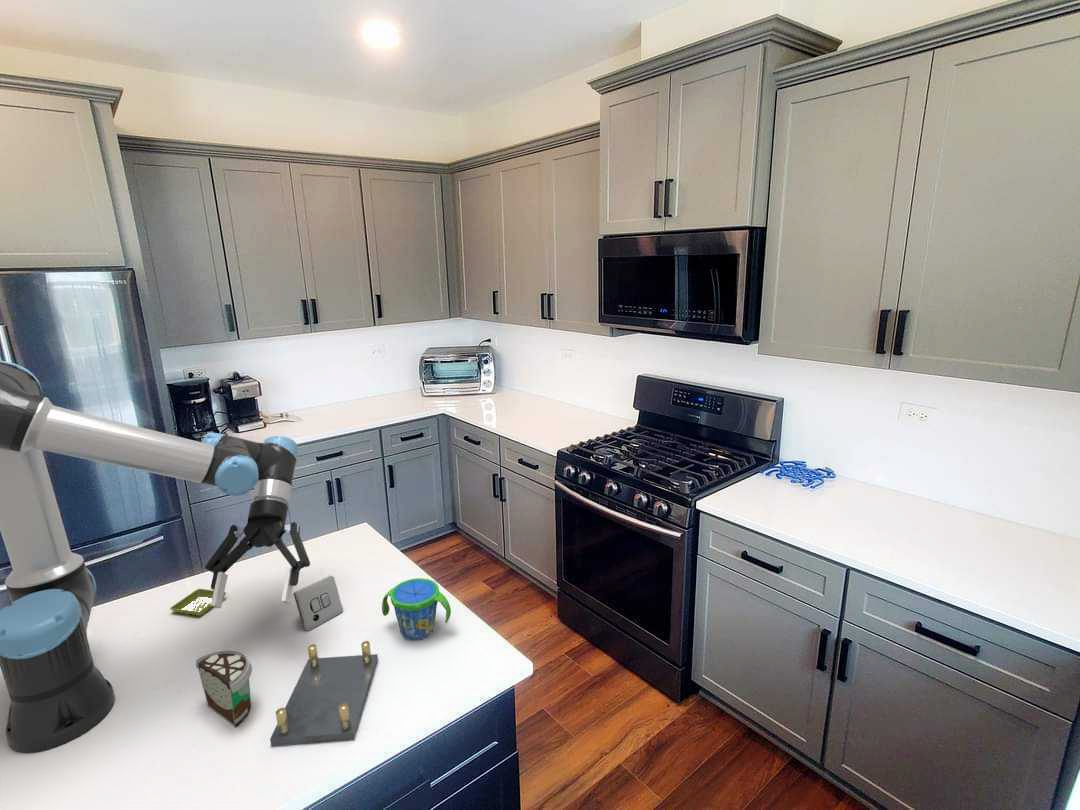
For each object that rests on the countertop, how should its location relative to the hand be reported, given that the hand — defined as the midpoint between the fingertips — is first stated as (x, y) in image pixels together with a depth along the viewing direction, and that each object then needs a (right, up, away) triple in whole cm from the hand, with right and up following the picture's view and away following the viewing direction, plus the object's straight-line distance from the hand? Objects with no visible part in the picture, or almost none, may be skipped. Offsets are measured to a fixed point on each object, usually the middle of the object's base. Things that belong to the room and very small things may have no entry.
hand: (250, 604), depth 111 cm
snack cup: (+30, -11, +14) cm, 35 cm away
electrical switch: (+6, -10, +19) cm, 22 cm away
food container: (+1, -17, -7) cm, 18 cm away
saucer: (-25, -10, +25) cm, 37 cm away
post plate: (+18, -16, -6) cm, 25 cm away
